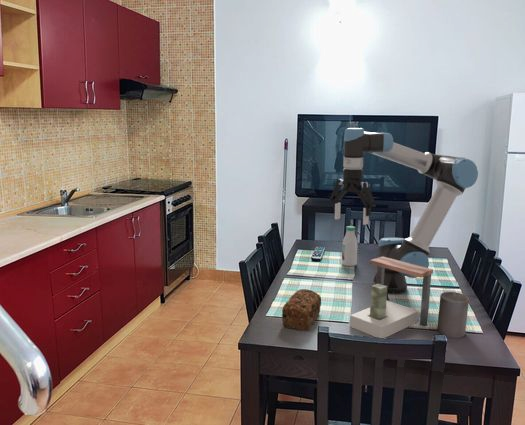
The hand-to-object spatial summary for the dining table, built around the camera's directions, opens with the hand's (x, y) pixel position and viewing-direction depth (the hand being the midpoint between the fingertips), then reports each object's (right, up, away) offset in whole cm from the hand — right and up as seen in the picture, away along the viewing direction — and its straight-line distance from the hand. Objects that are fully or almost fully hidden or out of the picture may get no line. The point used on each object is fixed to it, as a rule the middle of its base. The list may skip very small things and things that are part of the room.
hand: (351, 221), depth 204 cm
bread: (-20, -37, -10) cm, 44 cm away
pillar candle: (+33, -40, -19) cm, 55 cm away
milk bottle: (+9, -23, +62) cm, 67 cm away
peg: (+7, -39, -16) cm, 42 cm away
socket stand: (+10, -38, -13) cm, 41 cm away
